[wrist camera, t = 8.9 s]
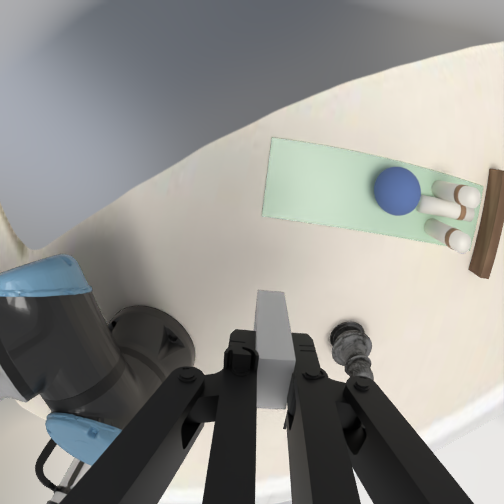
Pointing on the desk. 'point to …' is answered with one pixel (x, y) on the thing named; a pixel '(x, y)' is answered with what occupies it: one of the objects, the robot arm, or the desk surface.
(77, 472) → the coffee press
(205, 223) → the desk surface
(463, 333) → the desk surface
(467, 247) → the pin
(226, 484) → the robot arm
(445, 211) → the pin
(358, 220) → the lane mark
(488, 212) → the backstop
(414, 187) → the ball
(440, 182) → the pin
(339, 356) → the salt shaker
